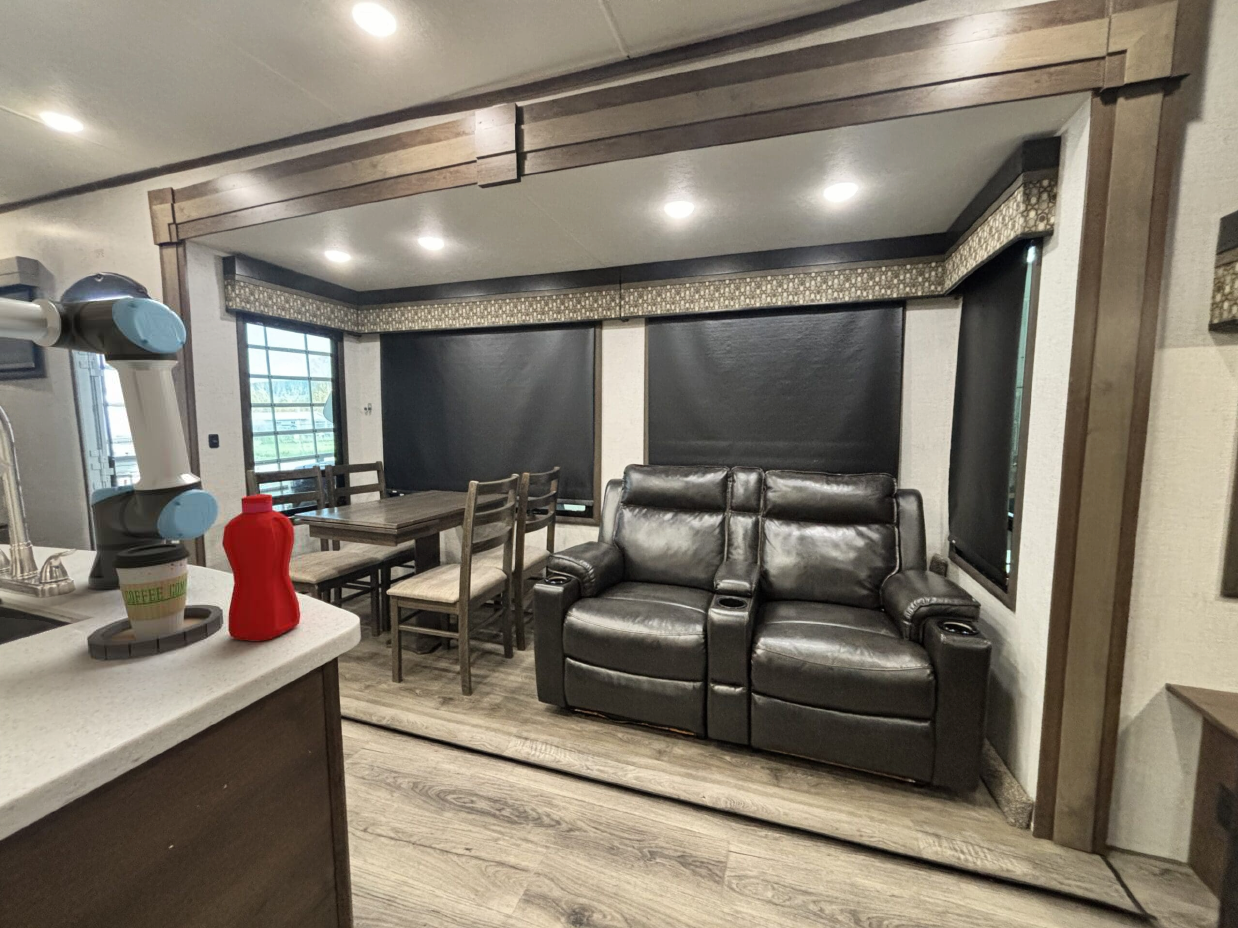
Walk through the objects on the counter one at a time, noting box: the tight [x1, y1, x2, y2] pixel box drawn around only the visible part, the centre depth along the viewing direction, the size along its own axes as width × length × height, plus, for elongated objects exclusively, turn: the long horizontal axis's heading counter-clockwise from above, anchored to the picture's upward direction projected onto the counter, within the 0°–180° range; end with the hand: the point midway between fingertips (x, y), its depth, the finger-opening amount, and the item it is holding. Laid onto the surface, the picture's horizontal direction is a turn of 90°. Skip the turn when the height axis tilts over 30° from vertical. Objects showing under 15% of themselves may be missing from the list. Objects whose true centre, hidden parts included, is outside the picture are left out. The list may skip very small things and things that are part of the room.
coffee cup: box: [112, 542, 191, 640], centre depth 85 cm, size 10×10×15 cm
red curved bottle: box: [221, 493, 301, 642], centre depth 86 cm, size 9×11×25 cm
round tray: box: [86, 604, 224, 661], centre depth 86 cm, size 17×17×2 cm
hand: (3, 472), depth 80 cm, fingers open, 13 cm apart
